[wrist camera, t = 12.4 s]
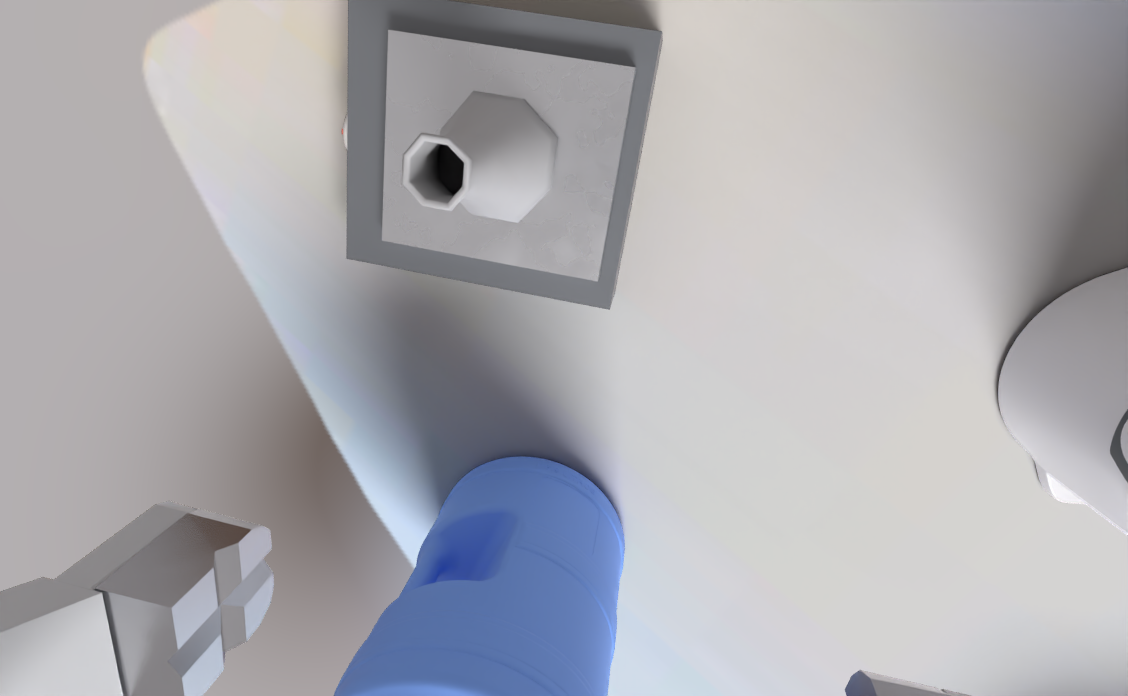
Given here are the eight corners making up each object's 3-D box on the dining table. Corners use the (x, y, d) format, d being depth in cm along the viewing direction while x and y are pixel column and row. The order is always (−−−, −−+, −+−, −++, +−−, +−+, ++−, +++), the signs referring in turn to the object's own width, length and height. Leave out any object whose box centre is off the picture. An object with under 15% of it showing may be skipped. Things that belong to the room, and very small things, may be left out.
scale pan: (636, 69, 32) (635, 67, 32) (599, 277, 37) (597, 281, 36) (395, 32, 34) (388, 29, 33) (388, 237, 38) (381, 240, 37)
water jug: (659, 506, 47) (649, 970, 21) (575, 629, 53) (488, 1104, 28) (486, 418, 47) (265, 781, 21) (421, 552, 53) (188, 959, 27)
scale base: (662, 40, 35) (662, 31, 32) (614, 293, 41) (609, 309, 38) (370, -3, 37) (337, -17, 34) (365, 245, 43) (337, 256, 40)
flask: (525, 242, 36) (476, 284, 27) (420, 185, 36) (335, 207, 27) (580, 130, 33) (546, 134, 24) (466, 67, 33) (388, 46, 24)
